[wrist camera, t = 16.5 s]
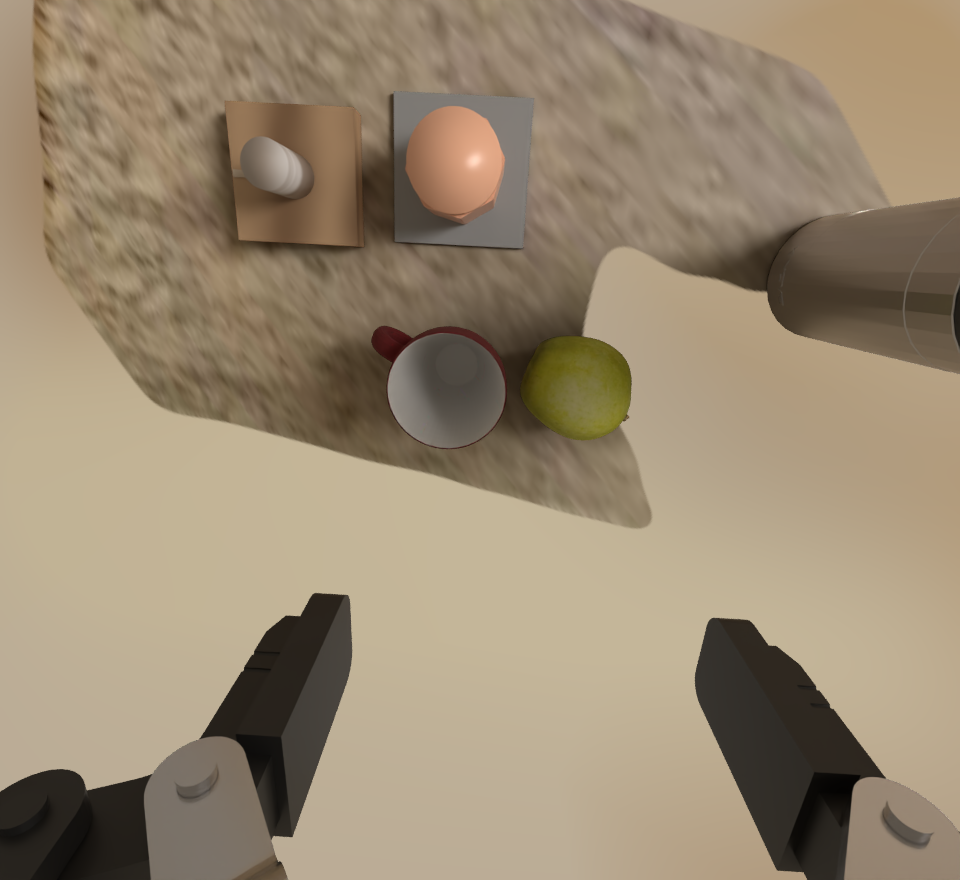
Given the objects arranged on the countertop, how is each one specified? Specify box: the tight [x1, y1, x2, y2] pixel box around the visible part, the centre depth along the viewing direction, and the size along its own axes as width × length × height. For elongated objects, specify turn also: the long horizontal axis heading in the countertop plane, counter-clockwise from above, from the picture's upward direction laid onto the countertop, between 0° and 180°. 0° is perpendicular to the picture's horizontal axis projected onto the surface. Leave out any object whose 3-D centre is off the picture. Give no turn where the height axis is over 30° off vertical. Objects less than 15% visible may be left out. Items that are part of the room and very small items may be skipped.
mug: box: [371, 326, 507, 449], centre depth 38 cm, size 10×8×10 cm
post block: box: [225, 101, 364, 247], centre depth 35 cm, size 9×9×7 cm
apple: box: [520, 336, 631, 440], centre depth 39 cm, size 8×9×8 cm
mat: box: [394, 91, 534, 249], centre depth 38 cm, size 10×10×1 cm
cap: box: [405, 106, 505, 224], centre depth 34 cm, size 6×6×6 cm
